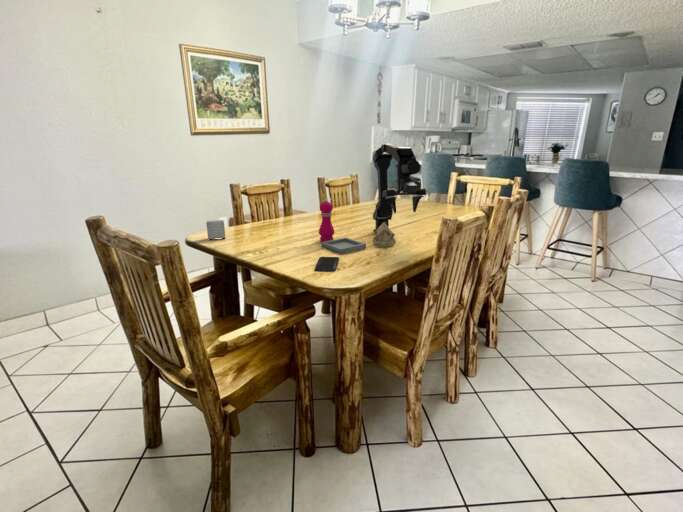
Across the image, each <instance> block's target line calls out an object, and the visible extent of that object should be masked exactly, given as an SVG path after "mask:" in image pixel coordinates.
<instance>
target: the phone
mask: <svg viewBox="0 0 683 512" xmlns="http://www.w3.org/2000/svg"><path fill="white" fill-rule="evenodd" d="M338 261H339V262H340V257H338V256H320V257H319V258H318V260H317V261H316V264H315V266H314V271H315V272H324V273H325V272H327V273H328V272H329V273H333V272H334V273H335V272H336V271H337V269H338V264H339V262H338Z"/></svg>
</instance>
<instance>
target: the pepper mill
mask: <svg viewBox="0 0 683 512" xmlns="http://www.w3.org/2000/svg"><path fill="white" fill-rule="evenodd" d="M333 209H334V206H333V204H332V202H331V201H329V199H328V198H327V197H326V198H324V201H323V202H321V203H320V205H319V210H320V214H321V215H320V217H321V224H320V226H319V228H318V235H320V238H319V241H320V243H321V242H325V241H330V240H334V234H335V228H334V226H333V224H332V220H331V219H332V216H333V213H332V212H333Z"/></svg>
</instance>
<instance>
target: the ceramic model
mask: <svg viewBox="0 0 683 512" xmlns="http://www.w3.org/2000/svg"><path fill="white" fill-rule="evenodd" d="M375 233H376V236H374V237H373V238H372V240H371V242H373V243H372V244H373V245H374V247H377V246H378V247H379V248H388V247H389V248H390V247H393V246H394V245H395V243H396V240H397V239H395V236H396V234H395V233H394V231H392V230H391V229H390V226H389V227H388V226H387V225H386V222H383V223H382V224H381V225H380V227H379V228H378V229H377V230H376V231H375Z"/></svg>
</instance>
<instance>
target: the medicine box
mask: <svg viewBox="0 0 683 512" xmlns="http://www.w3.org/2000/svg"><path fill="white" fill-rule="evenodd" d="M205 225H206V232H207V240H208V239H215V238H226V229H225V222H224V220H223V219H219V220H218V219H217V220H207V221H206V223H205Z"/></svg>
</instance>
